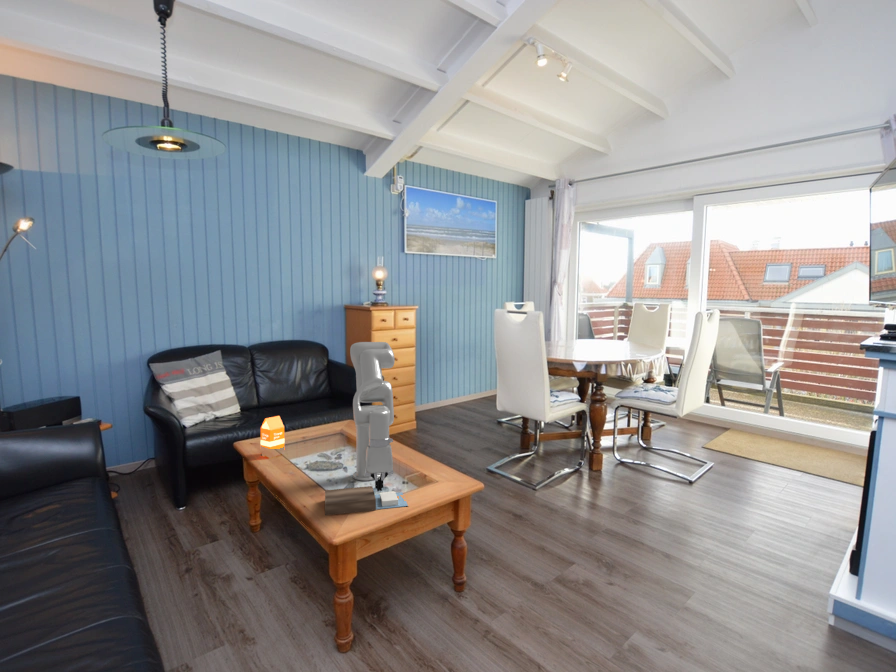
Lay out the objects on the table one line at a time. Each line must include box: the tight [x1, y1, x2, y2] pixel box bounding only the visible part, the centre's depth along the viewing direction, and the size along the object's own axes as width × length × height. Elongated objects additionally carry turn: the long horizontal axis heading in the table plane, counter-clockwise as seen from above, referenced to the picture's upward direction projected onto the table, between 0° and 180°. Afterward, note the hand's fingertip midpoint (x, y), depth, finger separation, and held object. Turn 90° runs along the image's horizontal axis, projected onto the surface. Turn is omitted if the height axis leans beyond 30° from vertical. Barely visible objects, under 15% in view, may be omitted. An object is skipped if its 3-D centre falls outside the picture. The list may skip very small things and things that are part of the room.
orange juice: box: [260, 415, 286, 449], centre depth 235 cm, size 8×9×20 cm
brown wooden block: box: [324, 485, 376, 516], centre depth 171 cm, size 14×18×4 cm
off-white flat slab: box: [379, 490, 398, 507], centre depth 174 cm, size 9×6×2 cm, turn 14°
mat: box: [375, 491, 409, 511], centre depth 176 cm, size 14×12×1 cm
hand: (379, 489), depth 174 cm, fingers closed
